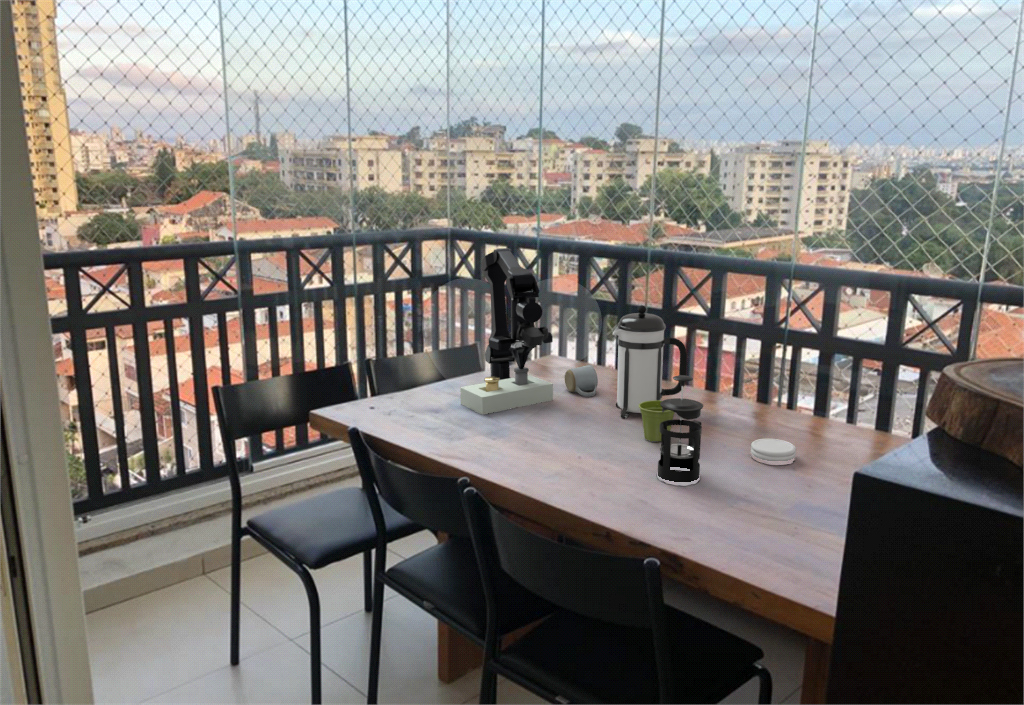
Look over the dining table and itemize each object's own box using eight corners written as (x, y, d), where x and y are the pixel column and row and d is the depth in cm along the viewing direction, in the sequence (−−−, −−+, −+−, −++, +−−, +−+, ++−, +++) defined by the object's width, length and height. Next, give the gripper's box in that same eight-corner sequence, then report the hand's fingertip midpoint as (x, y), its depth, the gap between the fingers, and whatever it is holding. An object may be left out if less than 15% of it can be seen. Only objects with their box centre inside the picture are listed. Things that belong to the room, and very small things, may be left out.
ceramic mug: (562, 389, 241) (563, 365, 239) (586, 386, 244) (587, 362, 242) (578, 399, 231) (578, 374, 229) (603, 395, 234) (603, 371, 232)
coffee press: (645, 425, 207) (649, 313, 200) (600, 411, 219) (602, 305, 212) (685, 411, 218) (690, 304, 211) (640, 399, 230) (644, 297, 223)
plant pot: (630, 439, 197) (631, 406, 195) (651, 429, 204) (652, 397, 202) (662, 448, 191) (663, 413, 189) (682, 438, 198) (684, 405, 196)
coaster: (765, 469, 178) (766, 454, 177) (741, 453, 188) (742, 439, 187) (804, 464, 181) (805, 450, 180) (778, 449, 190) (779, 435, 189)
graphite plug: (511, 393, 231) (511, 368, 229) (523, 391, 233) (523, 366, 231) (519, 396, 228) (519, 371, 226) (531, 394, 230) (531, 369, 228)
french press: (680, 490, 166) (685, 385, 161) (645, 477, 173) (649, 376, 168) (713, 476, 174) (719, 375, 168) (679, 464, 181) (683, 367, 175)
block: (460, 404, 227) (460, 387, 225) (529, 390, 239) (529, 374, 238) (482, 414, 217) (482, 397, 216) (552, 400, 230) (553, 383, 228)
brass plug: (482, 403, 226) (481, 377, 224) (494, 401, 228) (494, 375, 226) (490, 407, 223) (489, 381, 221) (502, 404, 225) (502, 378, 223)
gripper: (509, 324, 213) (509, 380, 217) (564, 316, 223) (563, 370, 227) (487, 318, 222) (488, 371, 226) (541, 310, 232) (541, 362, 236)
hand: (521, 368), depth 229 cm, fingers closed, pressing on graphite plug
